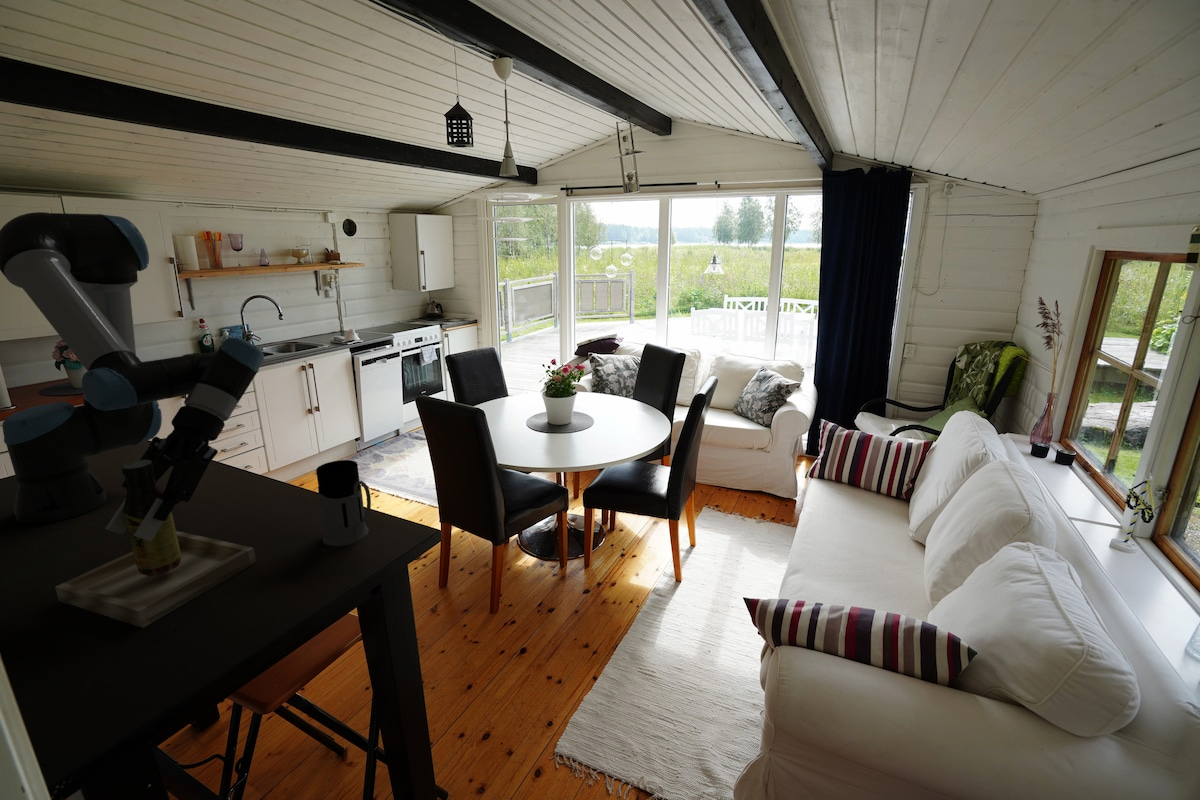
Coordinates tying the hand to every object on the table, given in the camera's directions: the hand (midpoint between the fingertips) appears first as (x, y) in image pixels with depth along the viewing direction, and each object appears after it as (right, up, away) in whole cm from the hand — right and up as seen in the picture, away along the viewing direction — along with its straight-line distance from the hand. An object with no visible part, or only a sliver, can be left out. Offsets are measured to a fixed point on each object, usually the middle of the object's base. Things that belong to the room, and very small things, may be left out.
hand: (128, 534), depth 94 cm
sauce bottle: (+1, -7, +6) cm, 9 cm away
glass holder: (+28, -6, +21) cm, 36 cm away
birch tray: (+1, -10, +6) cm, 11 cm away
